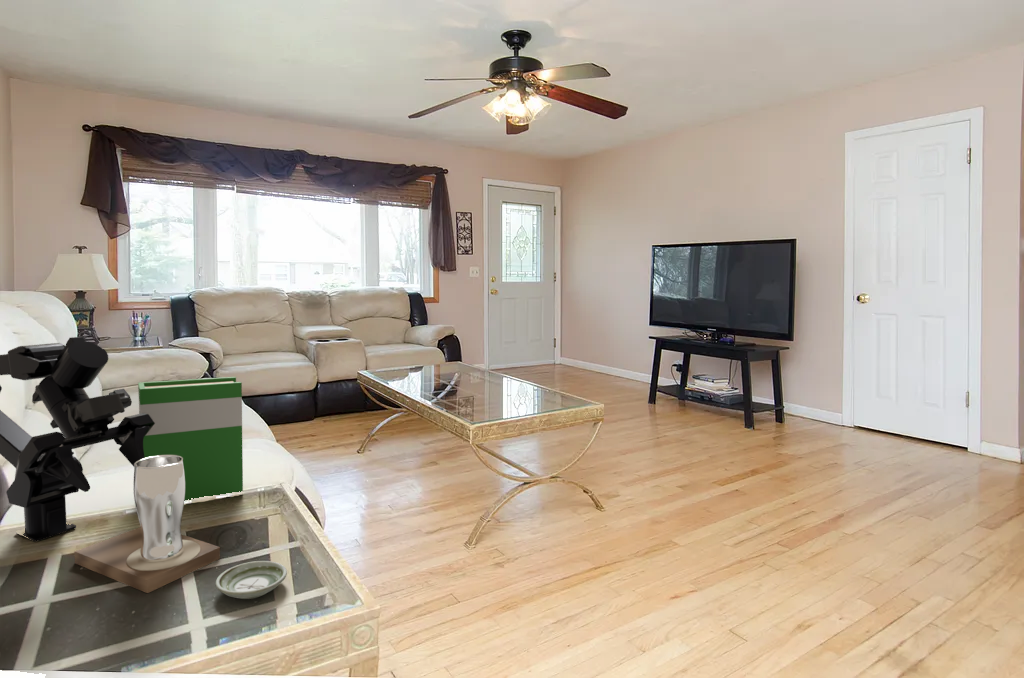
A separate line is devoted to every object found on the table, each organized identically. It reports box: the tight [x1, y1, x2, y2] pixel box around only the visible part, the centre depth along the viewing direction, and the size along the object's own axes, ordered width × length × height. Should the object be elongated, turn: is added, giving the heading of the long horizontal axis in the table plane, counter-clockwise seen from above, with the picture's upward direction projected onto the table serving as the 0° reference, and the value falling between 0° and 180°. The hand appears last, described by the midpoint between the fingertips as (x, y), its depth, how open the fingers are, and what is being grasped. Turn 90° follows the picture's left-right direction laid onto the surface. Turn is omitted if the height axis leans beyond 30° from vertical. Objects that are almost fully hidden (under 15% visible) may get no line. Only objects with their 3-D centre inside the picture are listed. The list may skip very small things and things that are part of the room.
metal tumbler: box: [132, 455, 186, 562], centre depth 92 cm, size 7×7×15 cm
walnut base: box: [74, 526, 221, 594], centre depth 94 cm, size 18×12×2 cm, turn 65°
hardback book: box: [137, 376, 244, 500], centre depth 120 cm, size 18×7×24 cm, turn 124°
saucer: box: [215, 560, 288, 600], centre depth 87 cm, size 10×10×2 cm
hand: (117, 480), depth 95 cm, fingers open, 9 cm apart
